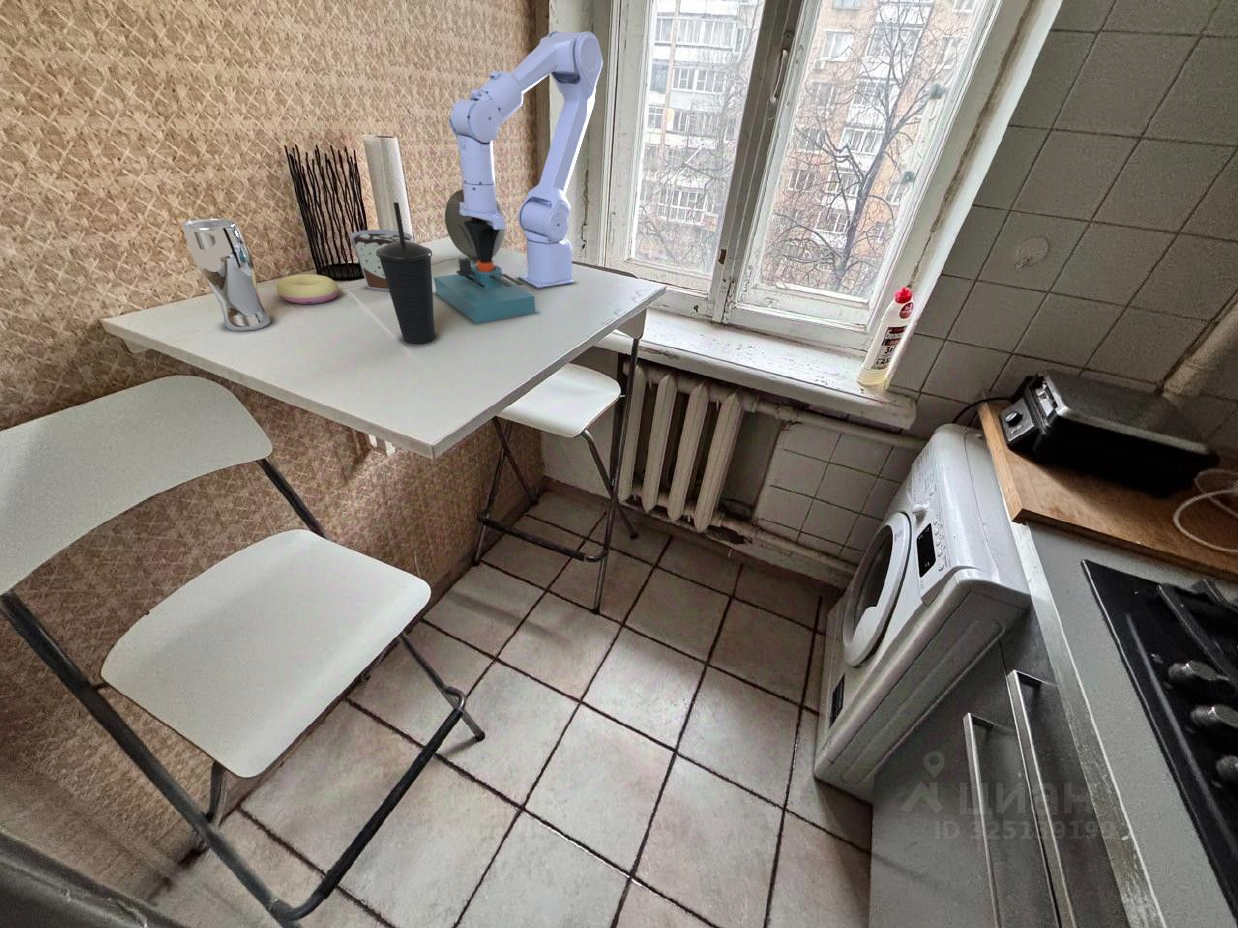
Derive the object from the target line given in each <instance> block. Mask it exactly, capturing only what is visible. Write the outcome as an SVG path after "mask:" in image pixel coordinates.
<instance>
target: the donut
mask: <svg viewBox="0 0 1238 928" xmlns="http://www.w3.org/2000/svg"><path fill="white" fill-rule="evenodd" d="M275 287H276V288H275V289H276V292H277V295H278V296H279V297H281V299H283V300H284V301H287V302H290V303H293V304H301V305H314V304H323V303H326V302H329V301H331V300H334V299H335V298H336V297H337V296H338V293H339V286H338V283H337V282H336V281H335V280H333V279H332V278H330V277H328V276H325V275H321V274H315V273H313V274H311V273H305V274H303V273H302V274H294V275H290V276H285V277H283V278H281V279H280V280H279V281H278V282H277V283H276V286H275Z"/></svg>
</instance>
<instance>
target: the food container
mask: <svg viewBox="0 0 1238 928" xmlns="http://www.w3.org/2000/svg"><path fill="white" fill-rule="evenodd" d="M404 237H405V241H408V242H413V243H416V241H415V239H414V238H413V236H412V234H410V233H408V232H405V231H404ZM349 240H350V245H351V246H354V249H355V252H356V255H357V258H358V262H359V265H360V267H361V270H362V274H363V276H364V280H365V284H366V286H367V289H372V290H373V289H375V290H381V291H389V288H388V285H387V281H386V278H385V275H384V271H383V268H382V264H381V261H380V258H379V257H378V256H377V254H376V251H377V250H378V249H379V248H382V247H384V246H385V245H387V244H390V243H393V242H398V241H400V237H399V232H398V230H392V229H366V230H359V231H355V232H351V233H350V239H349Z"/></svg>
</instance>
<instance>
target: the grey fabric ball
mask: <svg viewBox="0 0 1238 928" xmlns="http://www.w3.org/2000/svg"><path fill="white" fill-rule="evenodd" d="M460 202H464V192H463V188H462V189H458V190H456V192H454V193H452V194H451V196H450V197H449V198H448V200H447V202H446V205H445V211H444V222H445V227H446V230H447V234H448V236H449V238H450V240H451V242H452V244H453V245H454V246H455V247H456V249H457V250H458V251H459V252H461V254H463V255H464V256H466V257H467V258H468V259H469V258H470V259H471V260H475V261H478V260H479V259H478V256H477V253H476V249H475V246H474V243H473V240H472V238H471V236H470V234H469V232H468V230H467V228H466V227H465V225H464V222H465V221H471V219H472V218H471V216H464V215H461V214H460V213H459V210H460ZM496 205H497V210H498V211H499V213H500V214H501V216H503V217H504V213H503V210H502V207H501V204H500V203H499V201H498V200H497V199H496ZM505 234H506V228H505V229H500V231H499V233H498V235H497V237H496V240H495V244H494V250H493V256H492V258H493V257H495V256H496V255H497V254H498V252H499V251H500V249H501V248H502V245H503V243H504V240H505Z"/></svg>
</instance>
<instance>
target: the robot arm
mask: <svg viewBox="0 0 1238 928" xmlns="http://www.w3.org/2000/svg"><path fill="white" fill-rule="evenodd" d="M603 64H604V60H603V55H602V51H601V47H600V43H599V40H598V38H597V36H596V35H595V34H594V33H593V32H591V31H588V30H587V31H581V32H569V31H567V32H566V31H564V32H563V31H558V30H553V31H550V32H549V33H548V34H547V35H546V36H543V37H542V38H540V41H539V44H538V45H537V46H536V47H535V48H534V49H533V50H532V51H531V52H530V53H529V54H528V55H527V56H526V57H525V58H524V59H523V60H521V62H520V63H519V64H518V65H517V66H516V67H515V68H514V69H513V70H512V71H511V72H510V73H509V72H508V71H505V70H500V71H499V70H493V71H491V72H490V73H489V75H488V77H489V78H490V79H488V81H487V82H485V83H484V84H483V85H482V86H480V87H479V88H473V89H472V90H471V91H470V96H469V99H465V98H461V99H459V100H457V101H456V102H455V103H454V104H453V106H452V109H451V112H450V117H448V119H447V120H448V124H449V128H450V129H451V132H452V133H453V134H454V136H455V139H456V145H457V147H458V153H459V163H460V172H461V182H462V189H463V192H464V202H460V210H459V213H460V214H461V215H464V216H471V218H472V219H471V221H465V222H464V225H465V227H466V228H467V230H468V232H469V234H470V236H471V238H472V240H473V243H474V246H475V249H476V253H477V256H478V259H479V261H480V262H482V263H484V262H491V261H493V260H492V259H493V257H494V256H493V250H494V244H495V240H496V237H497V235H498V233H499V231H500V229H505V230H506V217H505V216H504V215H503V216H501V214H500V213H499V211H498V210H497V205H496V200H497V192H496V176H495V163H494V148H493V147H494V146H493V141H495V140H496V139H497V137H498V135H499V130H500V126H501V125H502V124H503V123H504V122H505V121H507V120H508V119H509V118H510V117H511V116H512V115H513V114H514V113H516V112H517V111H518V110H519V109H520V108H521V107H522V105H523V102H524V94H525V93H527V92H528V91H529V90H531V88H533V87H534V86H536V85H538V84H539V83H540V82H541V81H543V80H544V79H545V78H547V77H548V76H549V75H550V76H551V78H552V79H553V81H554V83H555V85H556V87H557V89H558V91H559V92H560V93H561V94H562V97H563V104H562V108H561V111H560V114H559V117H558V119H557V120H558V121H557V124H556V126H555V127H556V128H555V131H554V134H553V137H552V141H551V144H550V146H549V151H548V154H547V157H546V160H545V164H544V167H543V170H542V174H541V177H540V180H539V182H538V184H537V185H535V186H534V187H533V188H531V189H530V190H529V191H528V192H527V196H526V198H525V200H524V202H523V203H522V204H521V205H520V207H519V210H518V214H517V220H518V224H519V226H520V228H521V230H523V231H524V237H526V265H527V266H526V267H527V268H526V269H527V274H522V275H520V276H519V278H520V280H523V281H524V282H527V283H528V284H530V285H532V286H534V287H536V288H537V289H540V288H541V289H542V288H547V287H553V286H559V285H560V286H561V285H567V284H573V283H574V280H573V278H572V277H573V249H572V245H571V243H570V241H569V240H568V239H567V238H566V237H565V236H566V235H567V233H568V229H569V216H570V212H571V209H572V207H571V205H570V203H569V202H568V199H567V197H566V196H565V195H566V194H567V193H566V192H567V189H568V186H569V183H570V179H571V177H572V174H573V171H574V167H575V164H576V161H577V157H578V155H579V151H580V149H581V145H582V143H583V139H584V136H585V133H586V130H587V127H588V124H589V120H590V117H591V115H592V111H593V109H594V105H595V96H596V86H597V84H598V80H599V77H600V74H601V71H602V68H603ZM492 256H493V257H492Z"/></svg>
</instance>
